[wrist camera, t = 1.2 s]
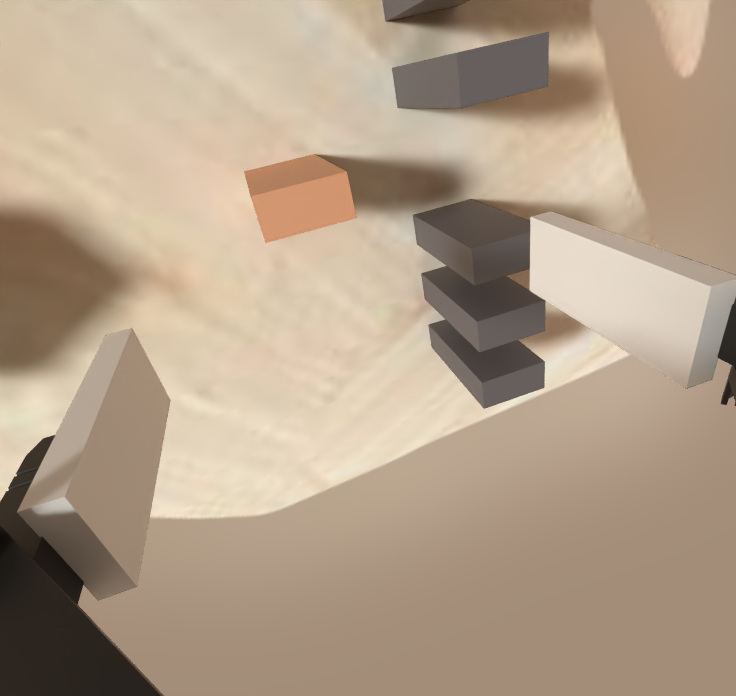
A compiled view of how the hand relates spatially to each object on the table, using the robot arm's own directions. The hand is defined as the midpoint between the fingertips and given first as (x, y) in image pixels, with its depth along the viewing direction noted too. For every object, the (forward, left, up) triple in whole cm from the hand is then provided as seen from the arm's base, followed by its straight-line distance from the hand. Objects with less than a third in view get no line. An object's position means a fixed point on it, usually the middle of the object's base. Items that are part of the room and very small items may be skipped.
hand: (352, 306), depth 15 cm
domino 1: (-1, 0, -21) cm, 21 cm away
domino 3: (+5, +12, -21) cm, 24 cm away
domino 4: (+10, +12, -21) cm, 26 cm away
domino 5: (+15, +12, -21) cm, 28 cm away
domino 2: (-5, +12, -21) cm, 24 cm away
